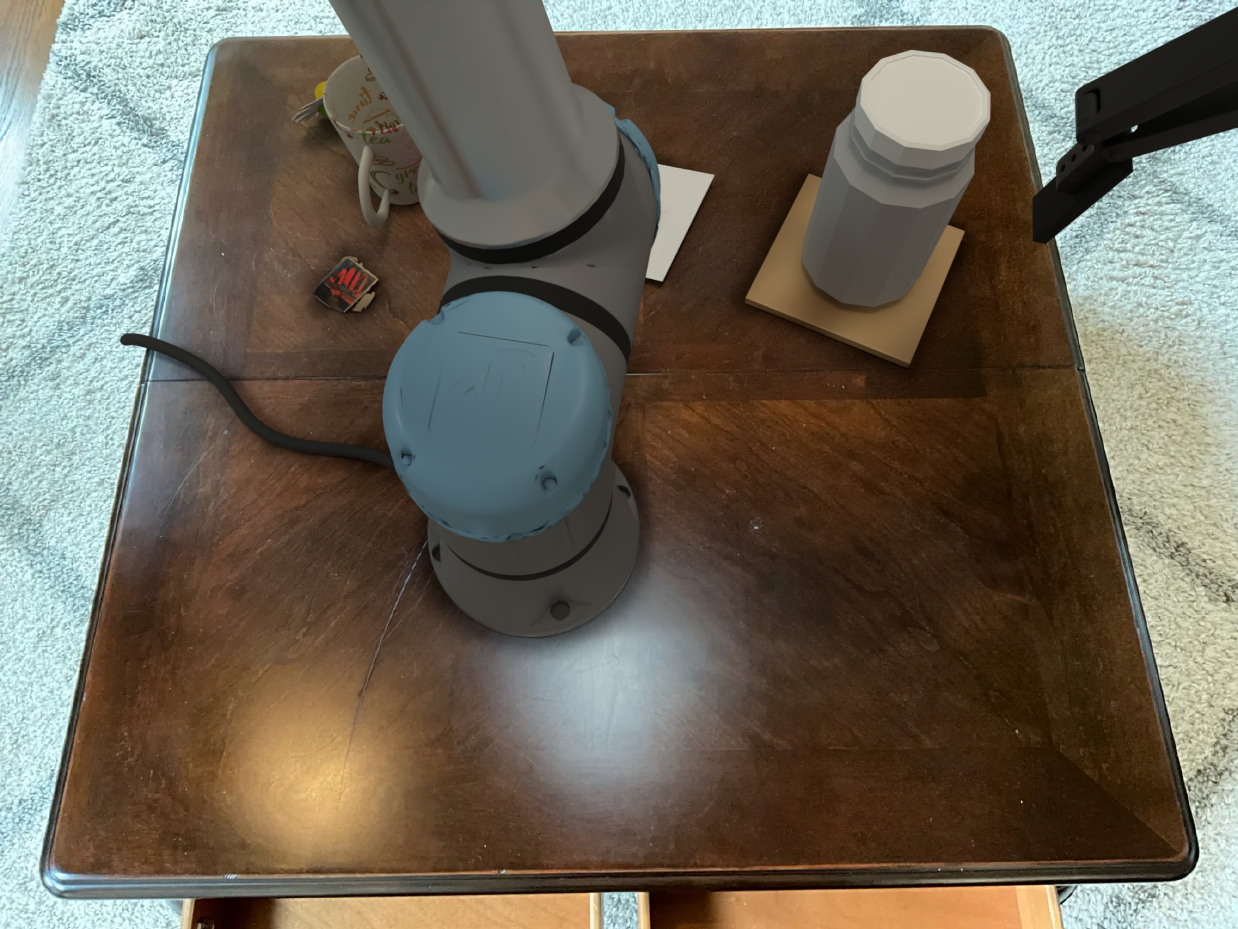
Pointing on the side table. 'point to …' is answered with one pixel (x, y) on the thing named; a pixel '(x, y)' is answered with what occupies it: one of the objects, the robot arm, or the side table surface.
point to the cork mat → (866, 328)
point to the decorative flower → (313, 106)
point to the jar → (895, 176)
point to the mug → (372, 138)
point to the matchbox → (346, 286)
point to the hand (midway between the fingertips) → (1153, 246)
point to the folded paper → (675, 214)
